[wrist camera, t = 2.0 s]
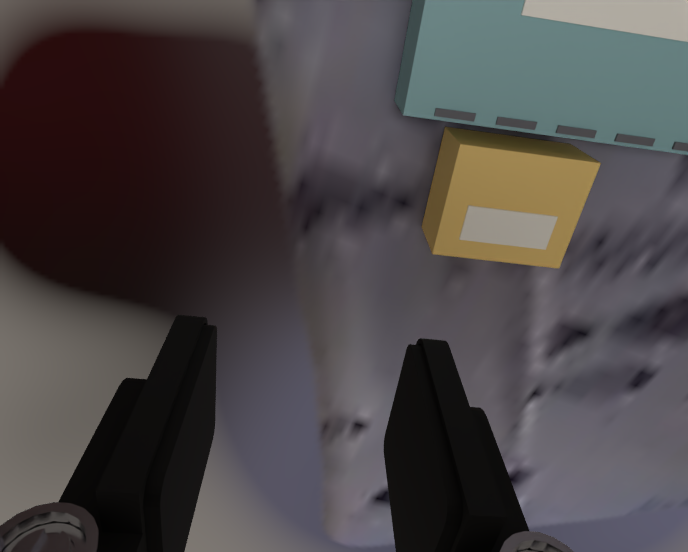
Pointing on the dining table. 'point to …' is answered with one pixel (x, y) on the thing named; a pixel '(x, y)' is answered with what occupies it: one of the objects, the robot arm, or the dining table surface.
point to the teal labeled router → (552, 68)
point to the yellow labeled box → (506, 197)
